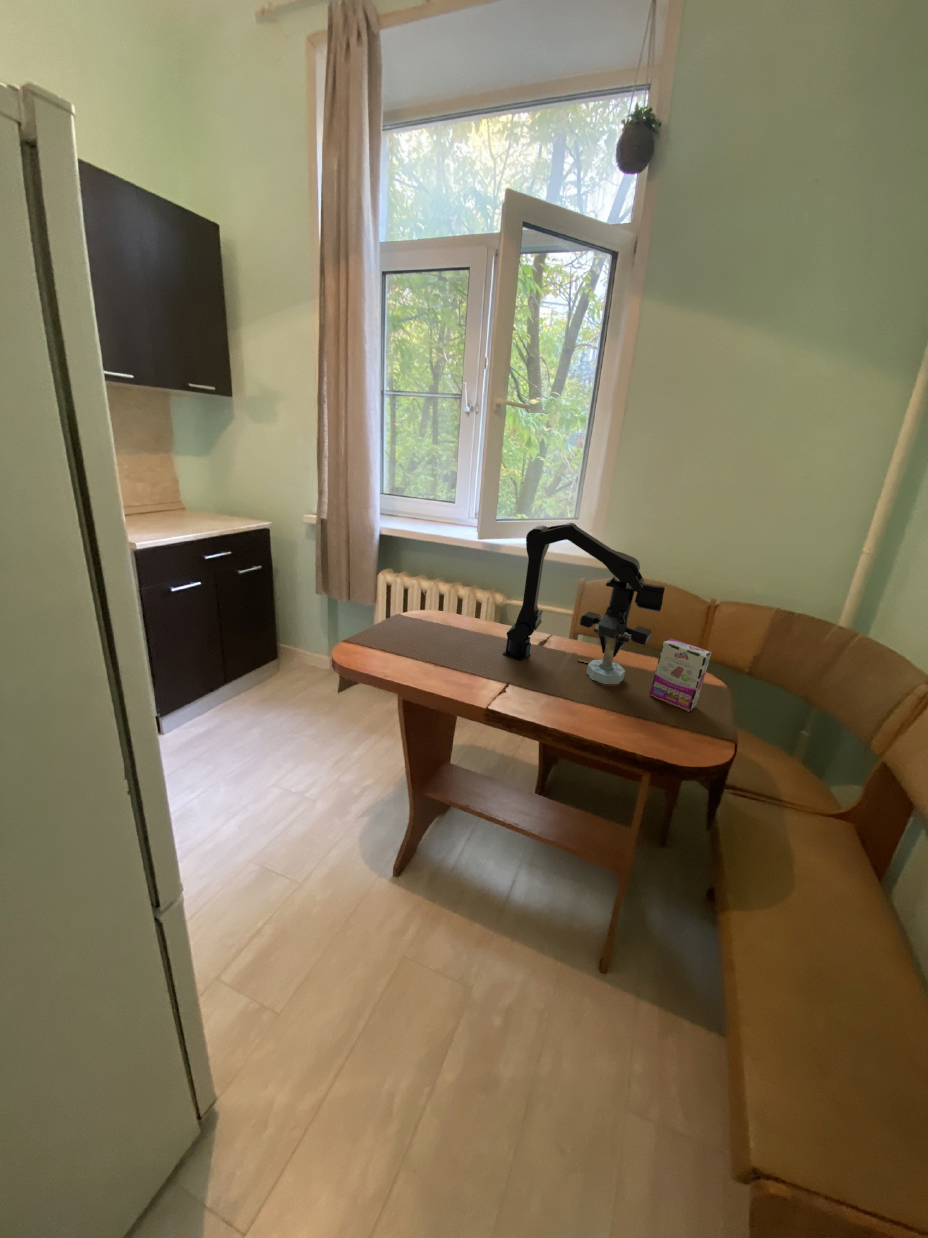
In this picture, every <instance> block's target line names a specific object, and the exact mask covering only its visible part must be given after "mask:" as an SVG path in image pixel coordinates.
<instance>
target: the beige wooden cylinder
mask: <svg viewBox="0 0 928 1238" xmlns="http://www.w3.org/2000/svg"><path fill="white" fill-rule="evenodd" d="M618 637H620V634H619V635H616V637H614V638H610V637H607V642H606V647H605V651H604V653H603V656H602V660H603V661H602V664H603V665H604V666H608V667H610V666H612V663H613V662H614V658H615V657H613V655H614V651H615V648H616V645H617V642H618Z"/></svg>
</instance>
